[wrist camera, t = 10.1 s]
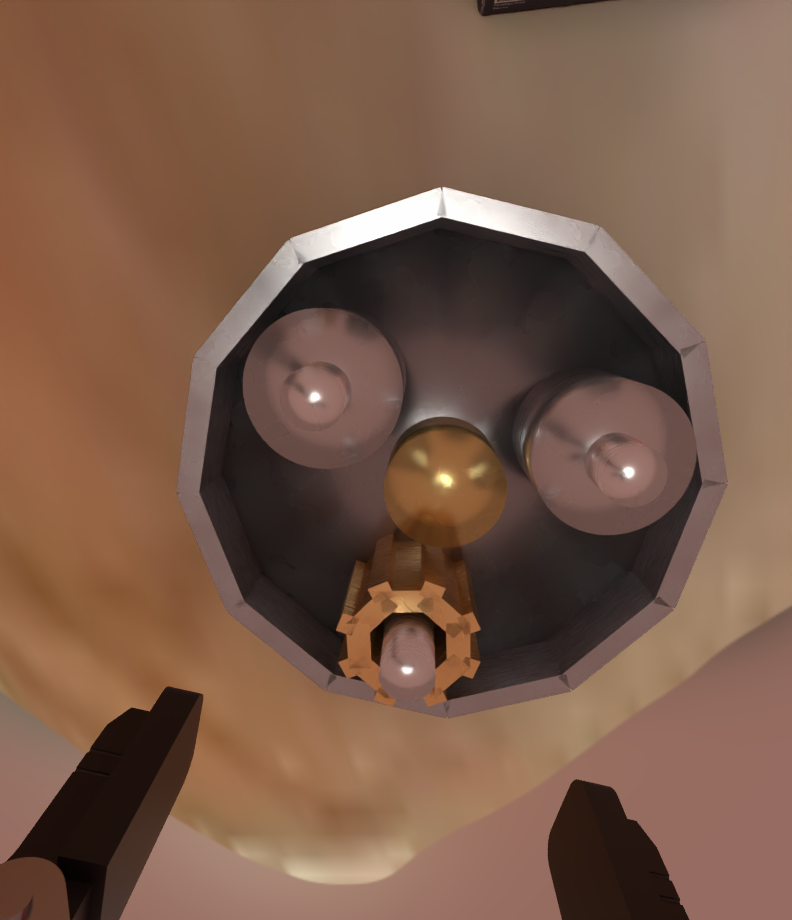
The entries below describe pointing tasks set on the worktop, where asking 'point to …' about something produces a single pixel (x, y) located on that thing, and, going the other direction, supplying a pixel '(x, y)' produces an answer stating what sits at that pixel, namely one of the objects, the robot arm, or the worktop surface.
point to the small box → (521, 5)
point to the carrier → (454, 443)
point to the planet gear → (403, 591)
